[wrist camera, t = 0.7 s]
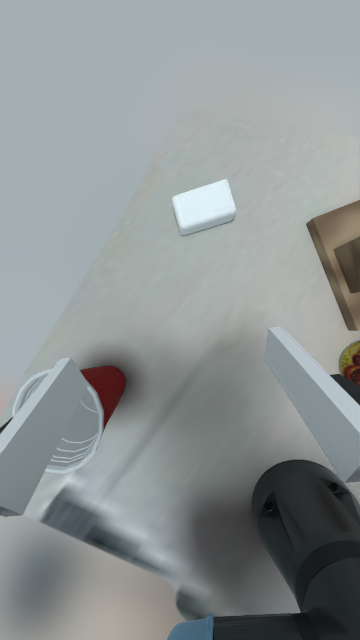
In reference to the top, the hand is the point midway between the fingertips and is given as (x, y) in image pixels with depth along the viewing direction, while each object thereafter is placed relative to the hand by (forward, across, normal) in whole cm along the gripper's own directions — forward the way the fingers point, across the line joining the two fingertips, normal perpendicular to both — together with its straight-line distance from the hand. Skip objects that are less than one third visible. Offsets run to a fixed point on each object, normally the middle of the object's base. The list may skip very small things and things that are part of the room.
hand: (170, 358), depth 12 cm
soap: (+25, -7, -8) cm, 27 cm away
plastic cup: (+12, +14, +14) cm, 23 cm away
